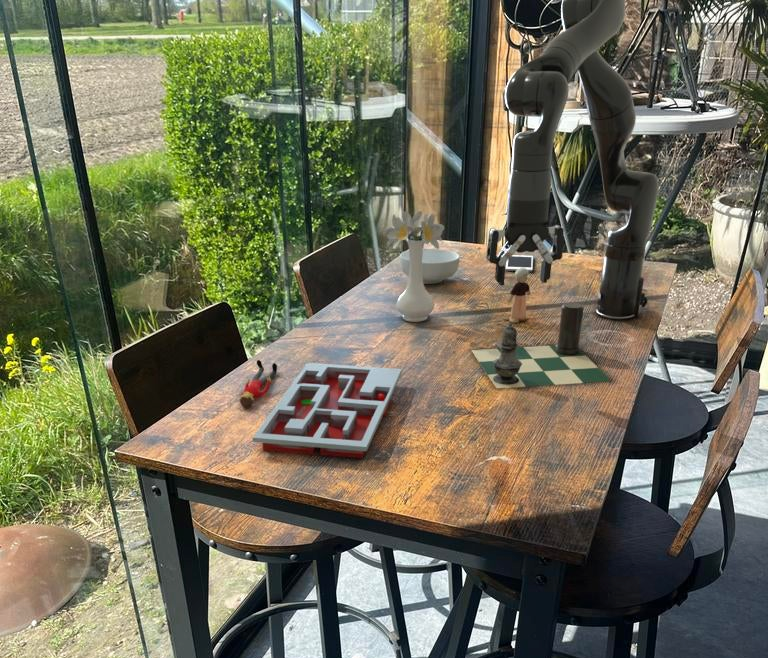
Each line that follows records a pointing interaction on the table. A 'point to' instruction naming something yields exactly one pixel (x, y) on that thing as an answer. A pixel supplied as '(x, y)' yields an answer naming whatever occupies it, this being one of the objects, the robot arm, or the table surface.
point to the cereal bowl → (433, 264)
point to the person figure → (256, 386)
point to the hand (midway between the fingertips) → (522, 283)
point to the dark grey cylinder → (570, 329)
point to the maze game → (330, 410)
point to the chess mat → (543, 367)
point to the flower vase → (415, 261)
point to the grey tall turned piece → (507, 358)
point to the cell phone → (519, 263)
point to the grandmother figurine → (519, 296)
